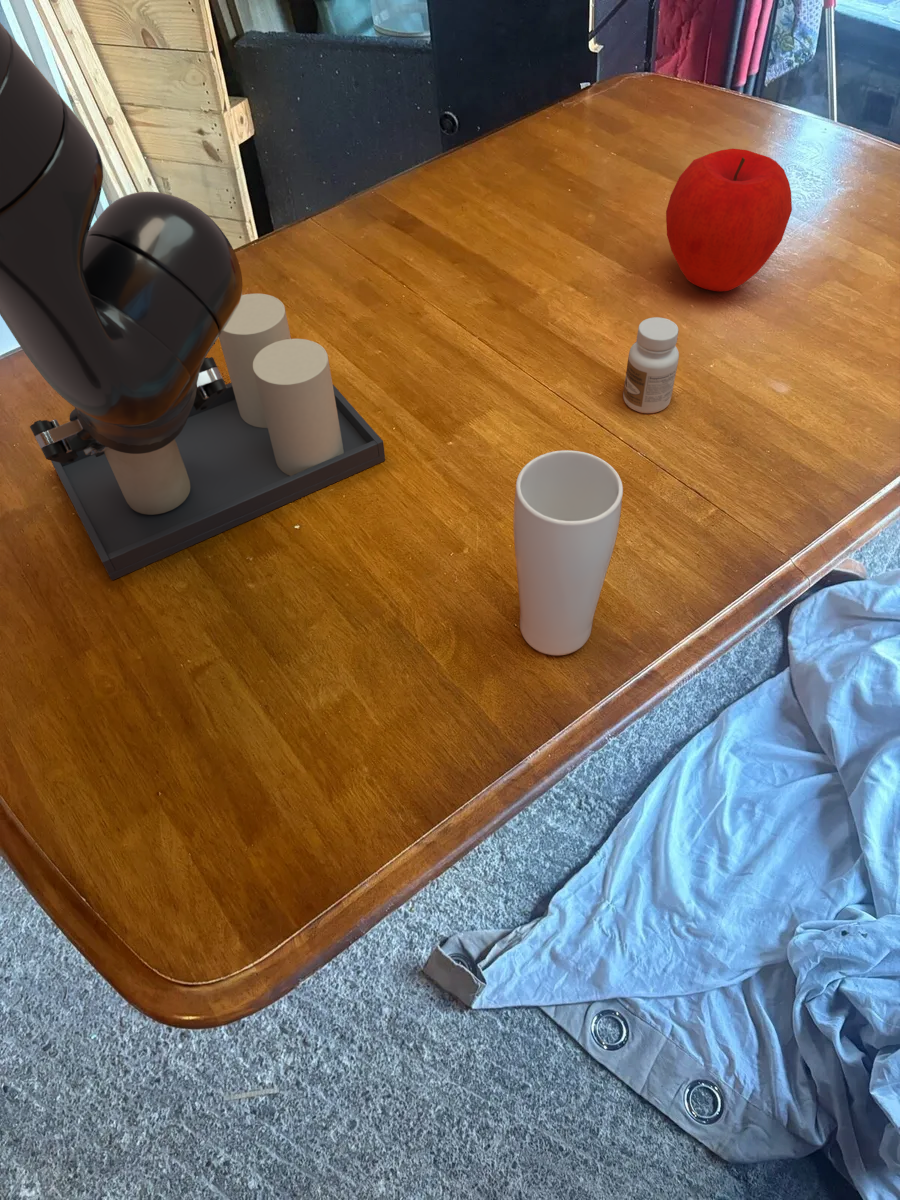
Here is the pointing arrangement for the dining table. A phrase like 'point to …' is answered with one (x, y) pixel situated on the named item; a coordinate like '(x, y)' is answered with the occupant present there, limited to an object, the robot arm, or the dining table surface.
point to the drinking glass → (563, 545)
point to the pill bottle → (652, 366)
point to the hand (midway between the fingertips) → (130, 429)
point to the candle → (151, 478)
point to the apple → (727, 217)
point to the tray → (207, 484)
